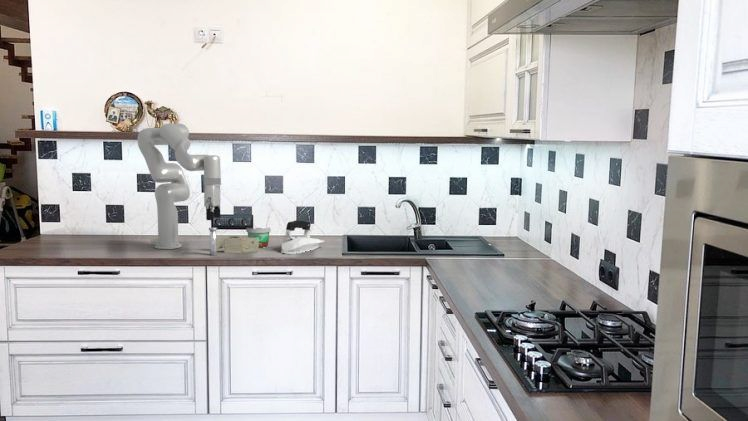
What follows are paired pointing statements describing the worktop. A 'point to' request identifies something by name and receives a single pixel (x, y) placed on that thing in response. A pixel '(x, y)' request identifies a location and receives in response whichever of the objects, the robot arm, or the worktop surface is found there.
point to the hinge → (237, 244)
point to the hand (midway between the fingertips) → (213, 218)
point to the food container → (259, 235)
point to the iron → (299, 239)
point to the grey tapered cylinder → (213, 241)
